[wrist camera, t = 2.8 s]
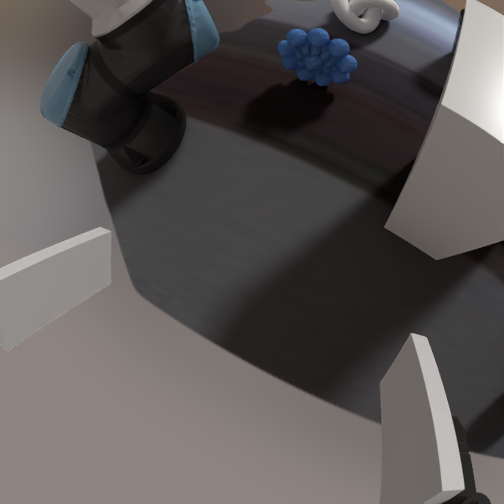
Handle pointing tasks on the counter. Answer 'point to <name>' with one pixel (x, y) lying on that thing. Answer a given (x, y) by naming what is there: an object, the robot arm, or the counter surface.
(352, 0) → the white twisted tube knot
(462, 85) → the block
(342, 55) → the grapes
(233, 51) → the counter surface
